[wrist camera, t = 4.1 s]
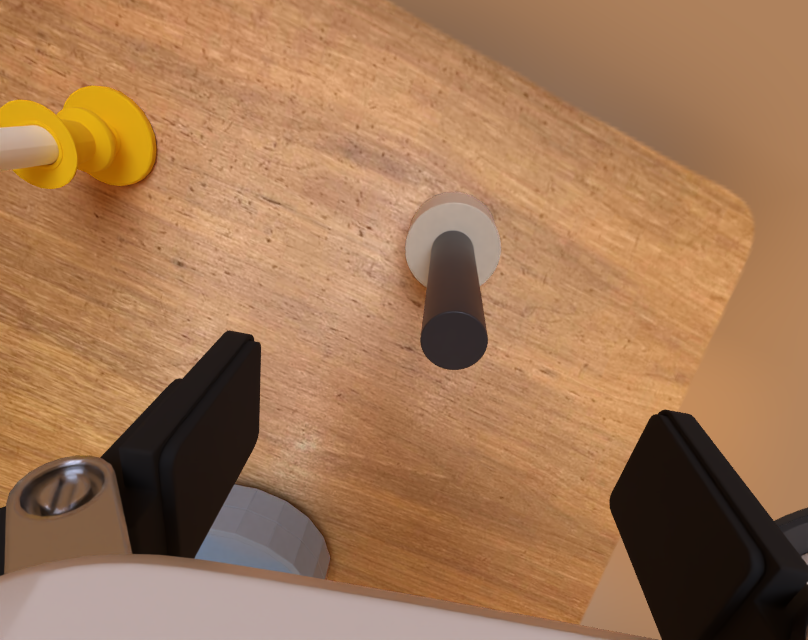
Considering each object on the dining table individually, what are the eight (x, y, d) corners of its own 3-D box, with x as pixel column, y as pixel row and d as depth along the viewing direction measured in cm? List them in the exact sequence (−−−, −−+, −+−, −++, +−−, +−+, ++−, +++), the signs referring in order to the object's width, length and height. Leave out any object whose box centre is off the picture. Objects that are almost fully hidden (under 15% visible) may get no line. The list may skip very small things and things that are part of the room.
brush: (505, 200, 26) (552, 285, 14) (484, 282, 28) (509, 416, 16) (417, 184, 26) (390, 255, 14) (403, 267, 28) (369, 389, 16)
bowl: (340, 495, 37) (324, 551, 32) (324, 610, 43) (309, 669, 39) (154, 460, 37) (113, 510, 32) (167, 579, 43) (134, 634, 39)
